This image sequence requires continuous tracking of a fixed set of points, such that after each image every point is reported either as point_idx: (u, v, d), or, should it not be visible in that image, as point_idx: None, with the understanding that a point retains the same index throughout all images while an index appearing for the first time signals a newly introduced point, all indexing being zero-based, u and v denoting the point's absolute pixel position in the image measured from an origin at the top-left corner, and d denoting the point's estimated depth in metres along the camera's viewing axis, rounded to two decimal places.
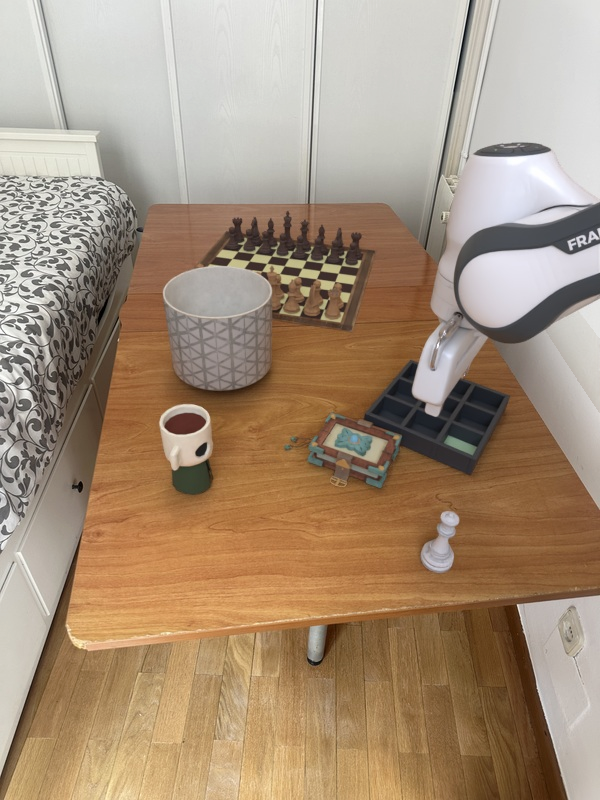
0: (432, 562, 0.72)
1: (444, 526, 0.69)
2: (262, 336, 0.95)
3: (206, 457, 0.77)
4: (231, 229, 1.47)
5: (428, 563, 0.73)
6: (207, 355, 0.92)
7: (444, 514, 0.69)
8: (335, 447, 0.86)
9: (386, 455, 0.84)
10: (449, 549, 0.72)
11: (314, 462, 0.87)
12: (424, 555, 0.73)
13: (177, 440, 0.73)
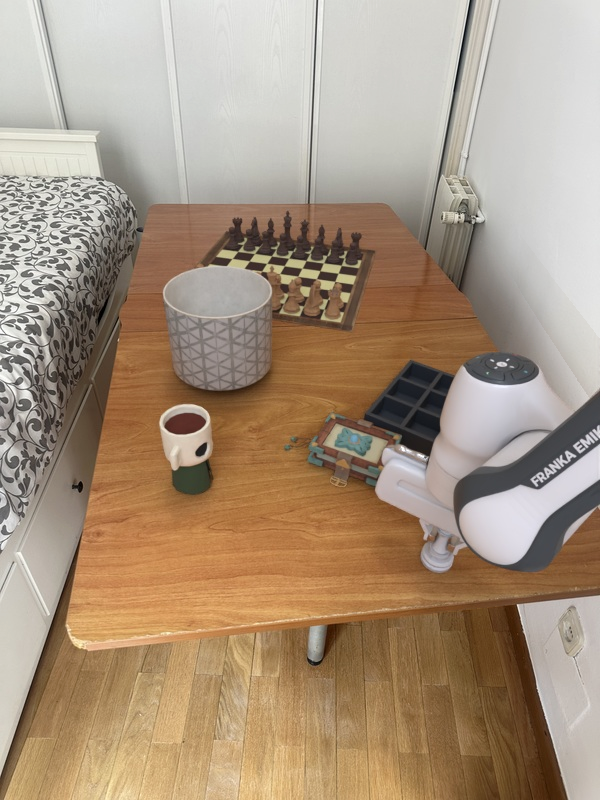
0: (432, 562, 0.72)
1: None
2: (262, 336, 0.95)
3: (206, 457, 0.77)
4: (231, 229, 1.47)
5: (428, 563, 0.73)
6: (207, 355, 0.92)
7: None
8: (335, 447, 0.86)
9: None
10: None
11: (314, 462, 0.87)
12: (424, 555, 0.73)
13: (177, 440, 0.73)
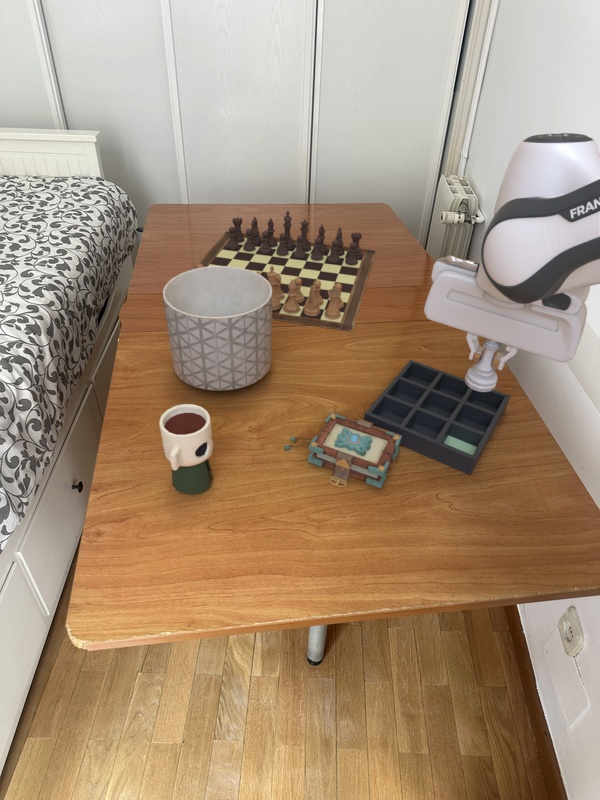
0: (477, 380, 0.76)
1: None
2: (262, 336, 0.95)
3: (206, 457, 0.77)
4: (231, 229, 1.47)
5: (473, 382, 0.76)
6: (207, 355, 0.92)
7: None
8: (335, 447, 0.86)
9: (386, 455, 0.84)
10: (493, 368, 0.76)
11: (314, 462, 0.87)
12: (469, 376, 0.77)
13: (177, 440, 0.73)
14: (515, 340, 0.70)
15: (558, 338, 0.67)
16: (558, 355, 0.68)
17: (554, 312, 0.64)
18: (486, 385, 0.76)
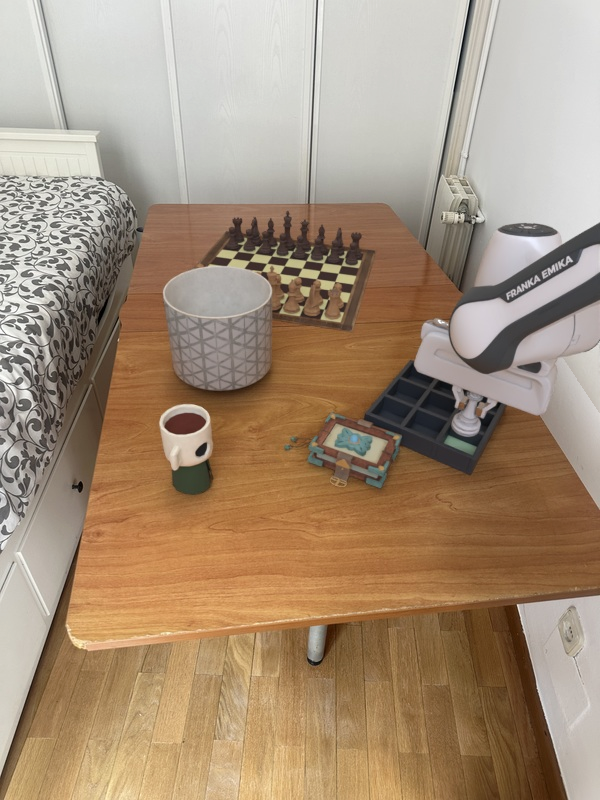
0: (462, 426, 0.84)
1: None
2: (262, 336, 0.95)
3: (206, 457, 0.77)
4: (231, 229, 1.47)
5: (459, 428, 0.85)
6: (207, 355, 0.92)
7: None
8: (335, 447, 0.86)
9: (386, 455, 0.84)
10: None
11: (314, 462, 0.87)
12: (455, 422, 0.85)
13: (177, 440, 0.73)
14: (495, 394, 0.78)
15: (532, 395, 0.75)
16: (532, 409, 0.76)
17: (527, 374, 0.73)
18: (470, 431, 0.84)
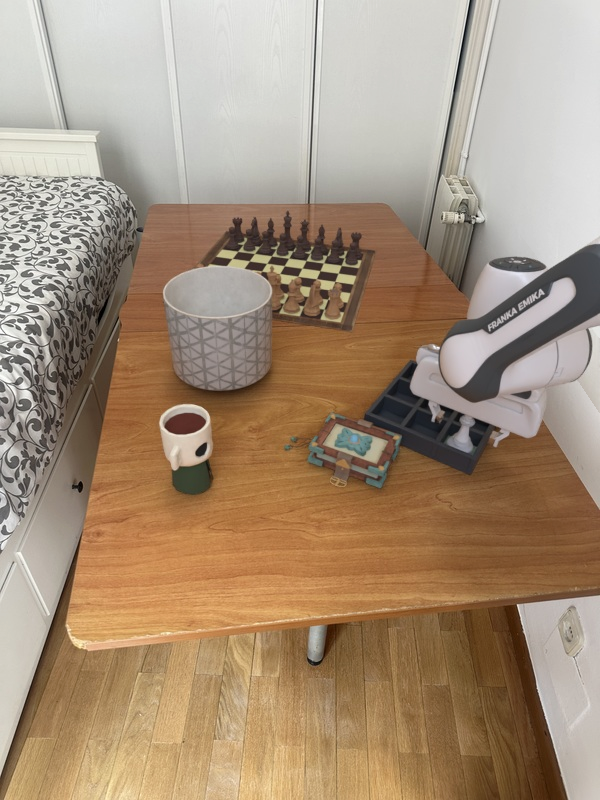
0: None
1: (466, 417, 0.85)
2: (262, 336, 0.95)
3: (206, 457, 0.77)
4: (231, 229, 1.47)
5: None
6: (207, 355, 0.92)
7: None
8: (335, 447, 0.86)
9: (386, 455, 0.84)
10: (469, 439, 0.88)
11: (314, 462, 0.87)
12: None
13: (177, 440, 0.73)
14: (487, 417, 0.81)
15: (523, 418, 0.78)
16: (523, 432, 0.79)
17: (518, 399, 0.76)
18: None
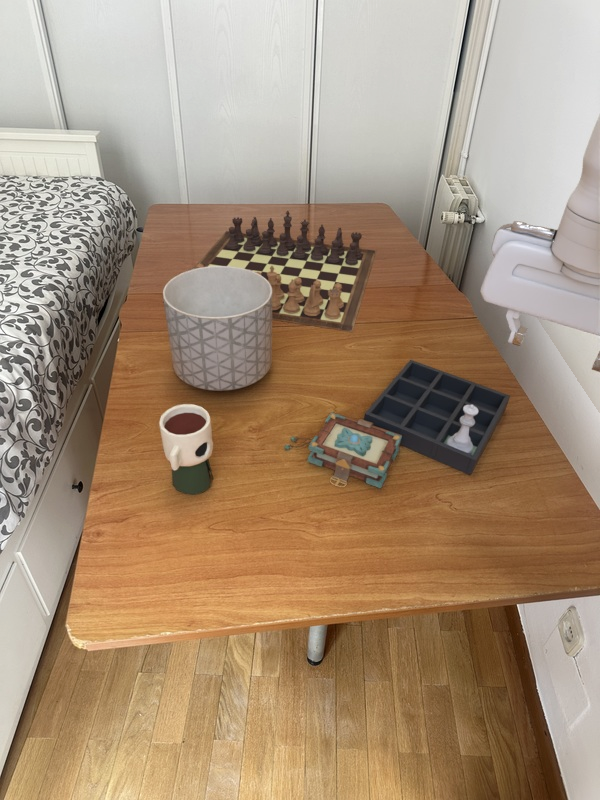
0: None
1: (466, 417, 0.85)
2: (262, 336, 0.95)
3: (206, 457, 0.77)
4: (231, 229, 1.47)
5: None
6: (207, 355, 0.92)
7: (466, 406, 0.85)
8: (335, 447, 0.86)
9: (386, 455, 0.84)
10: (469, 439, 0.88)
11: (314, 462, 0.87)
12: None
13: (177, 440, 0.73)
14: (599, 326, 0.56)
15: None
16: None
17: None
18: None
